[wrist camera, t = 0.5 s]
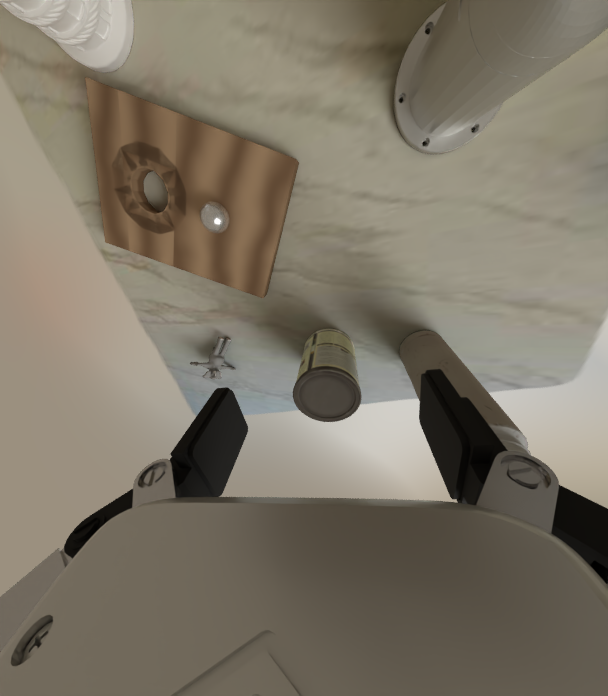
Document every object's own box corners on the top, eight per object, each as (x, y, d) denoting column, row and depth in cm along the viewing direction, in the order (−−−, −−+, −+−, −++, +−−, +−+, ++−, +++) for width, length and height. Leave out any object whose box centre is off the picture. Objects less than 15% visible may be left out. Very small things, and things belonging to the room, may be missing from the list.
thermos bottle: (451, 333, 42) (602, 492, 18) (434, 369, 46) (540, 537, 22) (406, 327, 43) (495, 474, 19) (394, 363, 47) (453, 521, 23)
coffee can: (353, 372, 49) (358, 424, 37) (305, 370, 50) (294, 420, 38) (357, 328, 44) (364, 371, 32) (303, 327, 45) (290, 368, 33)
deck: (298, 162, 33) (296, 159, 31) (266, 294, 43) (263, 298, 41) (102, 86, 31) (85, 76, 29) (117, 240, 41) (105, 242, 39)
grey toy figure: (252, 347, 49) (237, 384, 51) (239, 337, 53) (225, 371, 55) (206, 338, 42) (190, 382, 44) (196, 326, 46) (181, 367, 48)
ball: (209, 197, 34) (194, 196, 31) (235, 207, 34) (224, 206, 31) (206, 227, 36) (192, 228, 33) (231, 236, 36) (220, 238, 33)
